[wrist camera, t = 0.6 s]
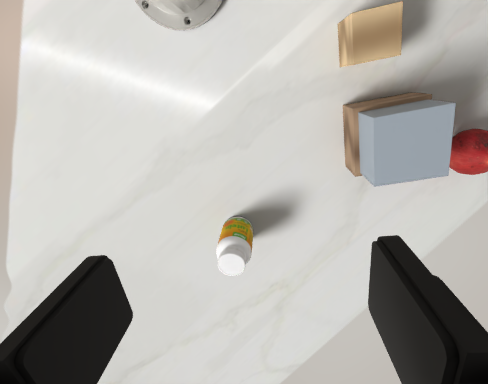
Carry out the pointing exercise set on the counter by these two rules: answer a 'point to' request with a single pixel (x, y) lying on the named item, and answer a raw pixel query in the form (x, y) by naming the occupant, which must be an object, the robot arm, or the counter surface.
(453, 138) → the onion
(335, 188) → the counter surface
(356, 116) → the tower base
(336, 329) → the counter surface
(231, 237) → the supplement bottle
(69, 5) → the counter surface
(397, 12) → the oak block
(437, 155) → the grey square block
